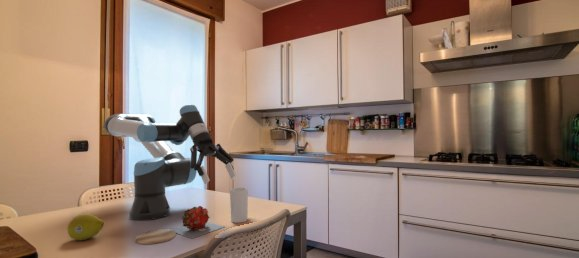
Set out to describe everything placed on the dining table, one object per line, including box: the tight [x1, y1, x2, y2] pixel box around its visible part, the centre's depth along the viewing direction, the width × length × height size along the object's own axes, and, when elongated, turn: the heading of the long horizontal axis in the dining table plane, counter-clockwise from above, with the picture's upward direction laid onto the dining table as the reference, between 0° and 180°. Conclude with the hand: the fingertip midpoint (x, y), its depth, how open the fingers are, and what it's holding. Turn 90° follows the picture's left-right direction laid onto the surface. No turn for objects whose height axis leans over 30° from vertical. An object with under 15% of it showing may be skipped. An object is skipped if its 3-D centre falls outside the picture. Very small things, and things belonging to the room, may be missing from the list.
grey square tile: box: [169, 221, 226, 239], centre depth 107 cm, size 14×14×1 cm
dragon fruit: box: [181, 205, 211, 231], centre depth 107 cm, size 8×8×12 cm
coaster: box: [135, 229, 177, 245], centre depth 99 cm, size 12×12×1 cm
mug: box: [229, 187, 249, 224], centre depth 118 cm, size 10×7×12 cm, turn 161°
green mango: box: [67, 213, 105, 241], centre depth 98 cm, size 11×8×8 cm
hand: (221, 179), depth 119 cm, fingers open, 13 cm apart
